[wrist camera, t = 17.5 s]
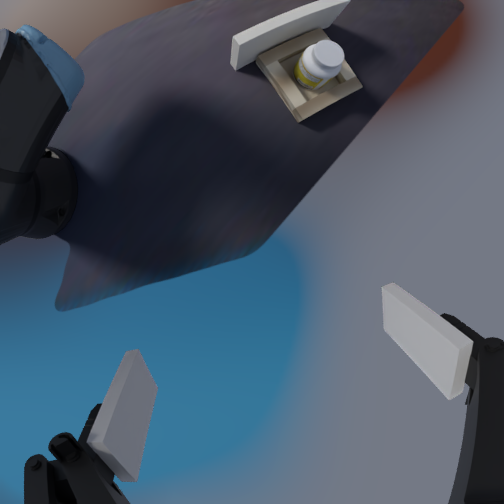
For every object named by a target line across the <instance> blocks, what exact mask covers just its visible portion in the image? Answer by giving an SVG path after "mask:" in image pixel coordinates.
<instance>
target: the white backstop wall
mask: <svg viewBox="0 0 504 504" xmlns="http://www.w3.org/2000/svg"><path fill="white" fill-rule="evenodd" d="M350 1H351V0H319V1H316V2H313V3H310V4H307V5H304V6H302V7H299V8H296V9H294V10H291V11H288V12H286V13H283V14H281V15H279V16H276V17H274V18H271V19H269V20H267V21H265V22H262V23H260V24H258V25H256V26H254V27H251V28H249V29H247V30H245V31H243V32H241V33H239V34H237V35H235V36H233V39H232V50H231V62H230V64H231V65H232V66H233V68H234V69H235V70H238V69H240V68H242V67H244V66H245V65H247V64H249V63H251V62H253V61H255V60H257V57H258V56H259V55H261V54H263V53H265V52H267V51H269V50H271V49H273V48H275V47H277V46H279V45H281V44H283V43H286V42H288V41H290V40H292V39H294V38H297V37H299V36H301V35H304V34H306V33H308V32H311V31H313V30H316V29H318V28H322V29H325V28H327V27H329V26H330V25H331V24H332V22H333V21H334V20H335V19H336V18H337V16H338V15H339V14H340V13H341V12H342V10H343V9H344V8H345V7H346V6H347V4H348V3H349V2H350Z"/></svg>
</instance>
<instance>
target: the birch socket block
mask: <svg viewBox="0 0 504 504" xmlns="http://www.w3.org/2000/svg"><path fill="white" fill-rule="evenodd" d="M322 40H330V39H329V37H328V36H327V35H326V34H325V32H324V31H323V30H322V28H318V29H316V30H313V31H311V32H308V33H306V34H304V35H301V36H299V37H297V38H294V39H292V40H290V41H288V42H286V43H283V44H281V45H279V46H277V47H275V48H273V49H271V50H269V51H267V52H265V53H263V54H261V55H259V56H258V57H257V60H256V64H257V65H258V67H259V68H260V69H261V71H262V72H263V73H264V75H265V76H266V77H267V79H268V80H269V82H270V83H271V84H272V86H273V87H274V89H275V90H276V91H277V93H278V94H279V96H280V97H281V98H282V100H283V101H284V103H285V104H286V106H287V107H288V109H289V110H290V112H291V113H292V115H293V116H294V118H295V119H296V121H297V122H298V123H299V122H301V121H302V120H304V119H306V118H308V117H309V116H311V115H313V114H315V113H316V112H318V111H320V110H322V109H323V108H325V107H327V106H329V105H331V104H332V103H334V102H336V101H338V100H340V99H342V98H344V97H345V96H347V95H349V94H351V93H353V92H355V91H357V90H359V89H360V88H362V87H363V86H362V84H361V83H360V81H359V80H358V78H357V77H356V75H355V74H354V72H353V71H352V69H351V68H350V66H349V65H348V64H347V62H346V61H345V59H344V60H343V62H342V67H341V70H340V72H339V73H338V74H337V75H336V76H335V77H334V78H332V79H331V80H330V81H329V82H328V83H327V84H325V85H324V86H323V87H322V88H320V89H317V90H307V89H304V88H302V87H301V86H299V85H298V84H297V83H296V81H295V79H294V77H293V68H294V66H295V64H296V63H297V61H298V60H299V58H300V57H301V55H302V54H303V52H304V51H305V50H306V49H307V48H308V47H309V46H311V45H313V44H317V43H318V42H319V41H322ZM330 41H331V40H330Z"/></svg>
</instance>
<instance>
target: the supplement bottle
mask: <svg viewBox="0 0 504 504" xmlns="http://www.w3.org/2000/svg"><path fill="white" fill-rule="evenodd" d="M343 60H344V52H343V50H342V48H341V47H340V46H339V45H338V44H337V43H335V42H333V41H330V40H322V41H319V42H318V43H317V44H313V45H311V46H309V47H308V48H307V49H306V50H305V51H304V52H303V54H302V55H301V57H300V58H299V60H298V61H297V63H296V64H295V66H294V68H293V77H294V79H295V81H296V83H297V84H298V85H299V86H301V87H302V88H304V89H307V90H317V89H320V88H322V87H323V86H324V85H325V84H327V83H328V82H329V81H330V80H331V79H332V78H334V77H335V76H336V75H337V74H338V73H339V72H340V70H341V67H342V62H343Z"/></svg>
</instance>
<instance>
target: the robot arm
mask: <svg viewBox="0 0 504 504" xmlns="http://www.w3.org/2000/svg"><path fill="white" fill-rule="evenodd" d="M83 84H84V73H83V70H82V69H81V67H80V66H79V64H78V63H77V62H76V61H75V60H74V59H73V58H72V57H71V56H70V55H69V54H68V53H67V52H66V51H64V50H63V49H62V48H61V47H60V46H59V45H57V44H56V43H55V42H54V41H52V40H51V39H48V38H47V37H46V36H45V35H43V33H42V32H40V31H39V30H37V29H35V28H34V27H32V26H29V25H23V26H22V27H21V28H20V29H18V30H17V31H16V33H13V32H11V31H9V30H7V29H5V28H4V29H1V30H0V245H1V244H3V243H5V242H8V241H10V240H12V239H14V238H17V237H19V236H22V237H27V238H33V239H41V238H46V237H49V236H51V235H53V234H55V233H57V232H59V231H60V230H61V229H63V228H64V227H65V225H66V224H67V223H68V222H69V220H70V218H71V216H72V214H73V212H74V209H75V206H76V201H77V192H78V187H77V179H76V174H75V171H74V168H73V166H72V164H71V162H70V161H69V159H68V158H67V157H66V156H65V155H64V154H63V153H62V152H61V151H59V150H58V149H56V148H53V147H47V146H48V144H49V142H50V140H51V138H52V137H53V135H54V133H55V131H56V130H57V128H58V126H59V124H60V123H61V121H62V119H63V118H64V116H65V114H66V113H67V112H69V111H70V110H71V107H72V103H73V101H74V100H75V98H76V96H77V95H78V93H79V91H80V90H81V88H82V87H83ZM382 301H383V324H384V331H385V332H386V333H387V334H388V335H389V336H390V337H391V338H392V339H393V340H394V341H395V342H396V343H397V344H398V345H399V346H400V347H401V348H402V350H403V351H404V352H405V353H406V354H407V355H408V356H409V357H410V358H411V359H412V360H413V361H414V362H415V363H416V365H418V367H419V368H420V369H421V370H422V371H423V372H424V373H425V374H426V375H427V376H428V378H429V379H430V380H431V381H432V382H433V383H434V384H435V385H436V386H437V387H438V388H439V390H440V391H441V392H442V393H443V394H444V395H445V396H446V398H447V399H448V400H450V399H452V398H454V397H455V396H457V395H459V394H461V393H462V392H463V388H464V384H465V383H466V384H468V386H469V387H470V388H469V392H468V396H467V399H466V403H465V404H466V405H467V413H466V421H465V429H464V436H463V442H462V448H461V453H460V458H459V463H458V468H457V473H456V477H455V481H454V485H453V489H452V492H451V496H450V500H449V503H448V504H504V342H503V340H501V339H499V338H493V337H492V338H486V339H484V338H483V337H482V336H480V335H479V334H478V333H476V332H475V331H474V330H472V329H471V328H470V327H468V326H466V325H465V324H464V323H463V322H461V321H460V320H458V319H457V318H456V317H454V316H451V315H448V314H445V313H444V314H442V315H440V316H439V315H438V314H436V313H435V312H434V311H433V310H431V309H430V308H429V307H427V306H426V305H424V304H423V303H422V302H420V301H419V300H418V299H416V298H415V297H413V296H412V295H411V294H409V293H408V292H406V291H405V290H404V289H402V288H401V287H399V286H398V285H396V284H395V283H390V284H387V285H384V286H382ZM157 390H158V387H157V386H156V383H155V381H154V380H153V378H152V376H151V374H150V372H149V370H148V368H147V366H146V364H145V362H144V359H143V357H142V355H141V353H140V351H139V350H138V349H136V350H131V351H126V353H125V355H124V357H123V359H122V361H121V364H120V365H119V368H118V370H117V372H116V374H115V376H114V379H113V381H112V383H111V385H110V387H109V390H108V392H107V394H106V396H105V399H104V401H103V403H102V404H97V405H96V406H95V407H94V408H93V410H91V412H90V414H89V417H88V420H87V421H86V423H85V426H84V428H83V431H82V433H81V435H80V437H79V440H78V442H77V441H76V439H75V438H74V437H73V435H72V434H70V433H67V432H65V433H60V434H58V435H56V436H55V437H54V438H52V440H51V441H50V443H49V447H48V448H49V451H50V452H51V453H52V454H53V455H54V457H55V458H56V459H57V460H53V461H48V460H47V459H46V458H45V457H44V456H43V455H40V454H37V455H34V456H32V457H30V458H29V459H28V460H27V462H26V463H25V467H24V504H130V503H129V501H128V500H127V499H126V497H125V496H124V495H123V493H122V492H121V490H120V489H119V487H118V486H117V484H115V482H114V481H113V479H114V475H116V476H117V477H118V478H119V479H120V480H121V481H122V482H123V481H124V482H137V480H138V474H139V470H140V464H141V459H142V455H143V450H144V446H145V441H146V437H147V432H148V428H149V423H150V419H151V415H152V411H153V406H154V402H155V398H156V394H157Z"/></svg>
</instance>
